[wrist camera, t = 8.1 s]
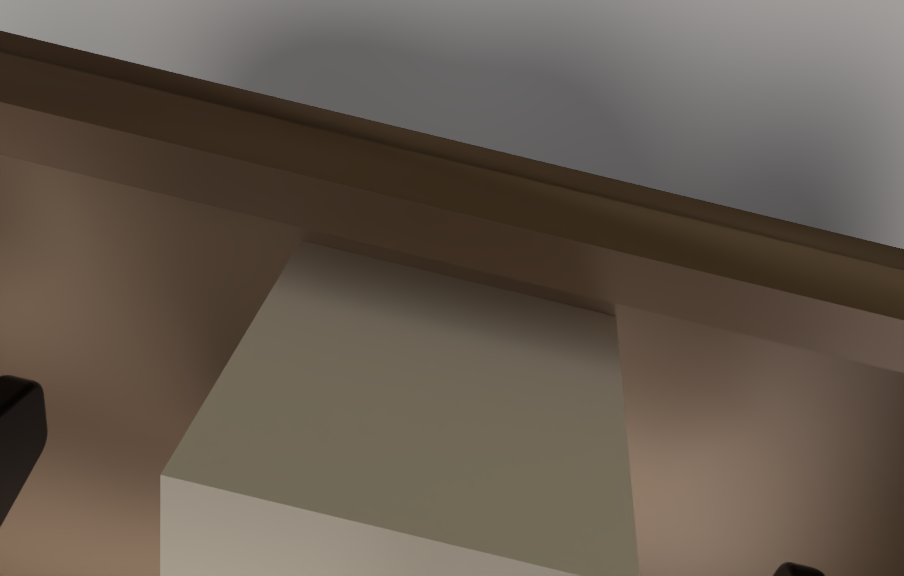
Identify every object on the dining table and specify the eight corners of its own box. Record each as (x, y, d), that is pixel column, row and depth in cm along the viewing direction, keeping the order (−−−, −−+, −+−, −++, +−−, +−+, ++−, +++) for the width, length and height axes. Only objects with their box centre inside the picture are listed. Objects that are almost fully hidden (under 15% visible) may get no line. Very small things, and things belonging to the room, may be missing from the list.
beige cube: (533, 529, 12) (520, 816, 9) (275, 466, 12) (160, 731, 9) (616, 316, 10) (640, 590, 6) (300, 240, 10) (159, 474, 6)
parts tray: (722, 810, 17) (738, 912, 15) (-27, 630, 16) (-87, 715, 15) (1139, 305, 10) (1246, 403, 8) (-163, -9, 9) (-303, 29, 8)
